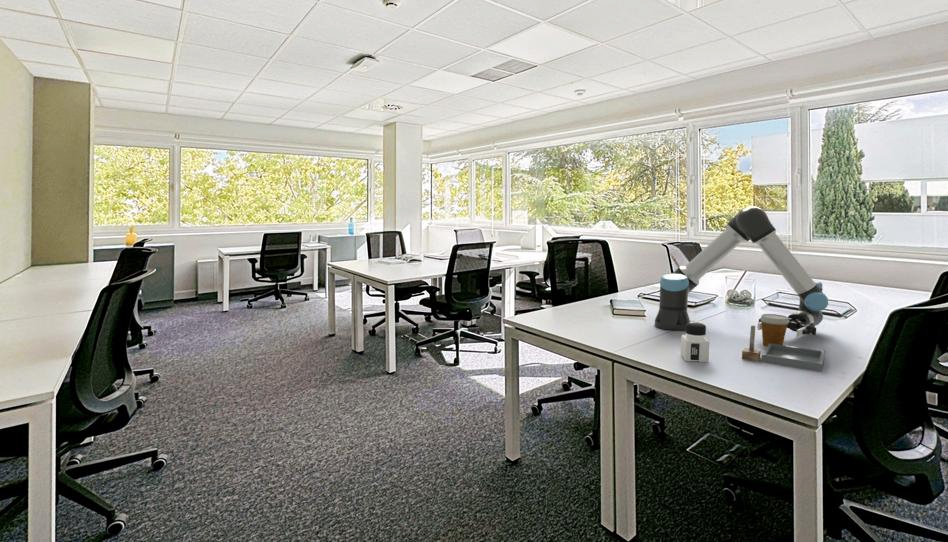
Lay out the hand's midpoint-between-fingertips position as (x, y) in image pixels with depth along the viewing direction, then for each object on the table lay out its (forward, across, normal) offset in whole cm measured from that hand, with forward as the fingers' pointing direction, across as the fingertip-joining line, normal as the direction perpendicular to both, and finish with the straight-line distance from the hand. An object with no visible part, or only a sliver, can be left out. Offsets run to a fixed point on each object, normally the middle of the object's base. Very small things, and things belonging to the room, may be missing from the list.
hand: (777, 329), depth 183 cm
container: (+39, +12, -7) cm, 41 cm away
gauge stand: (+23, -1, -6) cm, 24 cm away
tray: (+13, -11, -6) cm, 18 cm away
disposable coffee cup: (+2, +1, -7) cm, 7 cm away
